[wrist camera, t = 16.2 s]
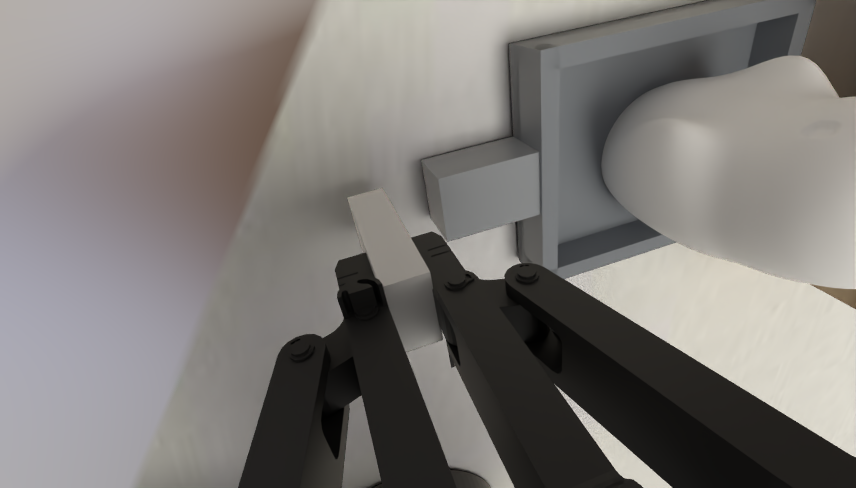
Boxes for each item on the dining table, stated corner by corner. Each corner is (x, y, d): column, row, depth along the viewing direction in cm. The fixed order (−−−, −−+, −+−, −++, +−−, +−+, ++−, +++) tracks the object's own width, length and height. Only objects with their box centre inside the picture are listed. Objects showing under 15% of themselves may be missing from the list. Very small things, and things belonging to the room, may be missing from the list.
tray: (441, 283, 23) (458, 313, 21) (405, 65, 18) (424, 76, 15) (715, 198, 26) (754, 216, 24) (762, -12, 21) (819, -12, 18)
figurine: (713, 29, 20) (1153, 66, 10) (713, 171, 24) (1021, 296, 14) (577, 98, 20) (893, 208, 10) (600, 230, 24) (837, 401, 14)
